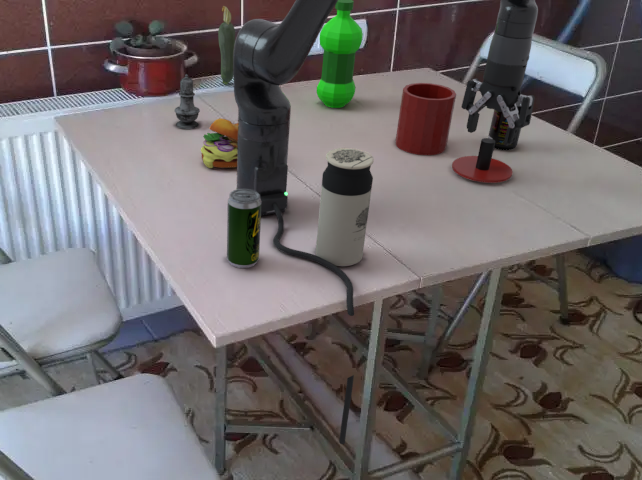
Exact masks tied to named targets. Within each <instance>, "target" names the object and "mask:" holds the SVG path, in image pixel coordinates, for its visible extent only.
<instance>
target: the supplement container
mask: <svg viewBox="0 0 642 480" xmlns="http://www.w3.org/2000/svg"><path fill="white" fill-rule="evenodd" d="M516 106H517V109H518V115H519V116H520V110H521V106H520V102H519V100H518V101H517V102H516ZM509 111H510V112H511V110H510V108H509ZM508 127H509V124H508V122H507V119H506V118H505V117H504V115H503V112H498V111H496V110H494V109H493V112H492V117H491V121H490V126H489V131H488V136H487V138H490V139H493V140H495V146H494V150H498V151H512V150H515V149H516V148H517V146H518V143H519V138H520V136H521V132H522V131H521V130H522V128H518V132H517V135H516V140H515V141H514V142H513V143H512V144H510V145H508V146H506V145H504V140H505V136H506V132H507V128H508Z"/></svg>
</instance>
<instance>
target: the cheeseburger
mask: <svg viewBox="0 0 642 480" xmlns="http://www.w3.org/2000/svg"><path fill="white" fill-rule="evenodd" d="M209 130H210V131H212V133H211V132H207V133H206V134H203V136H202V137H203V139H204V140H203V142H202V146H201V148H200V152H201V153H200V154H201V159H202V162H203V164H204V165H205V167H206V168H208V169H213V168H223V169H224V168H226V169H227V168H237V147H238V122H237V123H233V122H232V121H230V120H229V119H226V118H221V117H219V118H217V119H215V120H214V121H213V122H212V123H211V124H210V126H209Z"/></svg>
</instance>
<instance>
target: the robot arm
mask: <svg viewBox="0 0 642 480" xmlns="http://www.w3.org/2000/svg"><path fill="white" fill-rule="evenodd" d="M337 1H338V0H295V1H294V3H293V5H292V6H291V8H290V10H289V11H288V12H287V14H286V16H285V17H284V19H283V20H282V21H281V22H280V24H279V23H278V24H277V23H275V22H272V21H270V20H266V19H262V18H253V19H251V20H248V21H247V22H245V23H244V24H243V25H242V26H241V28H239V31H238V33H237V35H236V36H235V44H234V52H233V74H234V75H233V95H234V100H235V103H236V106H237V111H238V112H237V113H238V115H237V123H238V147H237V167H236V190H237V189H251V190H254V191H256V192H258V193H259V194H260V199H261V217H262V216H268V215H273V214H274V215H276V218H277V225H278V226H277V228H278V229H277V232H276V234H275V235H274V237H273V240H272V242H273V245H274V247H275V248H277V250H279V251H280V252H282V253H285V254H287V255H290V256H293V257H298V258H304V259H306V260H310V261H313V262H315V263H318V264H320V265H321V266H324V267H325V268H328V269H329V270H331V271H333V273H335V274H336V275H338V277H339V278H341V280H342V281H343V283H344V284H345V287H346V309H347V310H346V311H347V315H348V316H350V317H353V316H355V309H354V308H355V307H354V285H353V282H352V280H351V279H350V277H349V276H348V275H347V274H346V273H345V272H344V271H343V270H342V269H341V268H339V266H335V265H334V264H332V263H330V262H328V261H326V260H324V259H322V258H320V257H318V256H316V254H313V253H310V252H306V251H303V250H302V251H301V250H297V249H293V248H290V247H287V246H285V245H283V244H282V243H281V242H280V239H281V238H282V236H283V233H284V229H285V226H284V225H285V223H284V216H283V213H284V212H286V209H287V208H288V192H287V189H288V188H287V187H288V169H289V166H288V165H289V164H288V159H289V142H290V126H291V113H292V112H291V111H292V105H291V102H290V100H289V99H288V97H287V96H286V95H285V94H284V92H283V90H282V89H281V87H280V86H282V85H285V84H287V83H289V82H291V80H292V79H294V78H295V76H297V74H298V73H299V71H300V70H301V68H302V67H303V65H304V63H305V62H306V60H307V58H308V56H309V54H310V52H311V51H312V48H313V47H314V45H315V43H316V40H317V39H318V37H319V36H320V32H321V30H322V28H323V26H324V25H325V24H326V23H327V22H326V21H327V20H328V18H329V16H330V15H331V13H332V12H333V10H334V9H335V5H336V3H337ZM499 2H500V3H499V10H498V13H497V18H496V23H495V27H494V32H493V35H492V38H491V41H490V44H489V49H488V53H487V58H486V63H485V68H484V72H483V77H482V78H483V81H482V82H481V81H480V80H479V78H473V79H469V80H468V81H467V83H466V86H465V87H466V88H465V90H464V95H463V98H462V102H461V108H462V109H463V110H466V111H467V112H468V117H467V122H466V129H467V132H468V133H470V134H472V133H475V132H476V131H477V128H478V124H479V119H480V116H481V115H480V114H481V113H480V112H481V111H482V110H483V109H484V108H486V109H489V110H493V111H494V110H496V111H498V112H503V115H504V117H505V118H506V119H507V122H508V124H509V127H508V128H507V132H506V136H505V140H504V145H506V146H508V145H510V144H512V143H513V142H514V141H515V140H516V135H517V132H518V128H521V129H522V128H525V127H528V126H529V125H530V124H531V120H532V113H533V110H534V104H535V100H536V98H535V95H533V94H531V95H525V94H522V92H521V87H522V86H523V83H524V78H525V75H526V72H527V71H526V70H527V66H528V62H529V60H530V54H531V49H532V41H533V36H534V32H535V27H536V23H537V20H538V13H539V7H538V5H537V3H536V0H500V1H499ZM477 92H479V93H480V95H481V97H480V98H479V99H478V100H477V101H475V99H476V96H477ZM518 100H519V102H520V106H521V110H520V116H519V115H518V109H517V106H516V102H517V101H518ZM509 108H510V110H511V112H510V111H509ZM354 377H355V374H352V375H351V376H348V377H347V379H346V386H345V387H346V388H345V396H344V403H343V410H342V415H341V416H342V418H341V424H340V430H339V431H340V432H339V439H338V443H339V444H340V445H344V444H345V443H346V437H347V429H348V423H349V421H348V420H349V414H350V410H351V409H350V407H351V401H352V395H353V387H354V379H355V378H354Z"/></svg>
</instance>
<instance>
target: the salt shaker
mask: <svg viewBox="0 0 642 480" xmlns="http://www.w3.org/2000/svg"><path fill="white" fill-rule="evenodd" d="M179 83H180V84H179V85H180V87H179V89H180V92H178V95H179V96H180V98H179V100H180V103H179V106H177V107H175V108H174V113H175V116H176V118H177V120H178V121H177V122H176V123H175V126H176V127H177V128H179V129H182V130H193V129H197V128H198V127H199V126H200V125H199V122H197V121H196V120H197V119H198V117H199V115H200V114H199V113H200V112H201V110H200V108H199V107H197V106H195V102H194V99H195V98H194V96H195V95H196V93H195V92H194V81H193V79H192V78H191V77H189V75H188V73H186V74H185V75H184V77H182V78H181V79H180V81H179Z"/></svg>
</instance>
